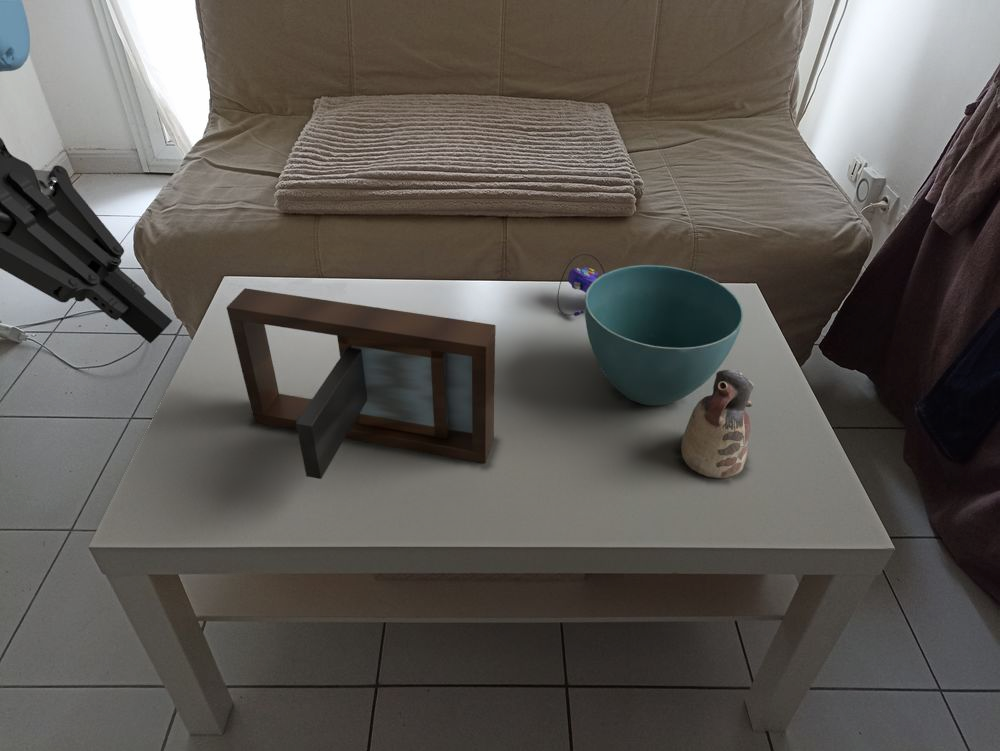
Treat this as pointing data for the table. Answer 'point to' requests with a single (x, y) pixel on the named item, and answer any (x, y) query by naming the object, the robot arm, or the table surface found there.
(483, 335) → the window frame
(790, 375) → the table surface
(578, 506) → the table surface
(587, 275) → the game controller
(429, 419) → the sliding pane
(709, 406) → the figurine
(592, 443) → the table surface
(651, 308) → the teal bowl
